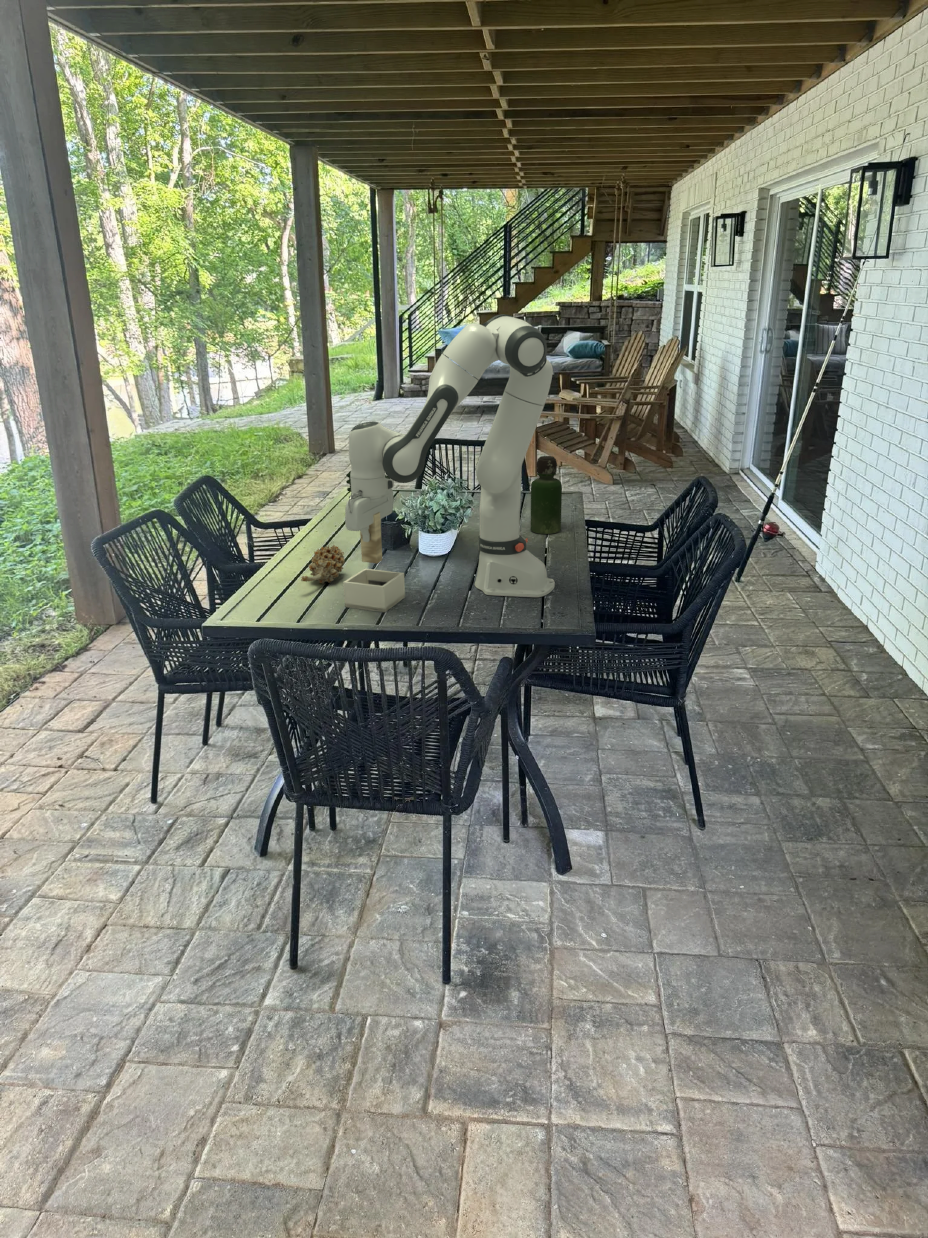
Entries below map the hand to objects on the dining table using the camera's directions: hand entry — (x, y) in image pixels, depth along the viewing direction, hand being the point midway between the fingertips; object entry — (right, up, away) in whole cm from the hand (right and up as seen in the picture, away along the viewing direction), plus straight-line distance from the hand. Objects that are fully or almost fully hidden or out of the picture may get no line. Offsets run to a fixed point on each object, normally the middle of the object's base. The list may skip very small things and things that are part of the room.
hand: (371, 538), depth 226 cm
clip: (0, -16, +7) cm, 18 cm away
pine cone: (-16, -11, +21) cm, 29 cm away
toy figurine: (-11, +23, +106) cm, 109 cm away
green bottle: (+52, +9, +68) cm, 86 cm away
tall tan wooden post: (0, -6, +2) cm, 6 cm away
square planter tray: (0, -16, +7) cm, 18 cm away
